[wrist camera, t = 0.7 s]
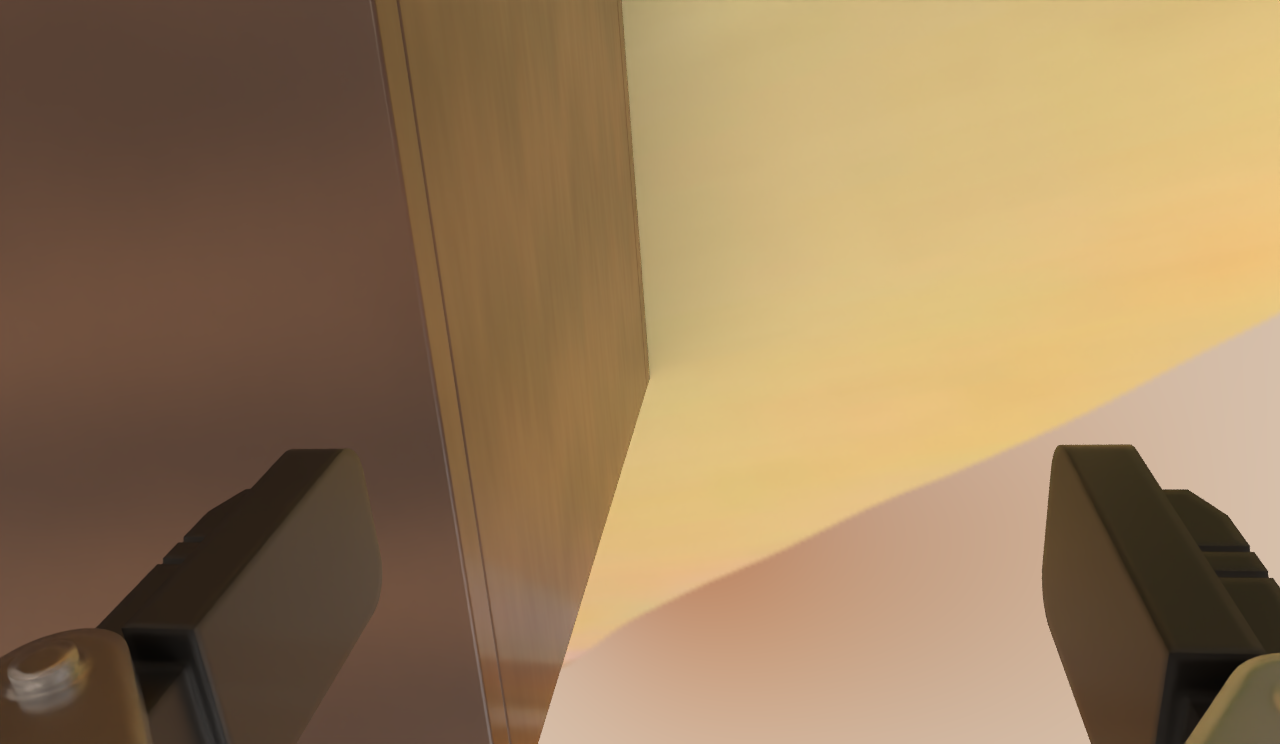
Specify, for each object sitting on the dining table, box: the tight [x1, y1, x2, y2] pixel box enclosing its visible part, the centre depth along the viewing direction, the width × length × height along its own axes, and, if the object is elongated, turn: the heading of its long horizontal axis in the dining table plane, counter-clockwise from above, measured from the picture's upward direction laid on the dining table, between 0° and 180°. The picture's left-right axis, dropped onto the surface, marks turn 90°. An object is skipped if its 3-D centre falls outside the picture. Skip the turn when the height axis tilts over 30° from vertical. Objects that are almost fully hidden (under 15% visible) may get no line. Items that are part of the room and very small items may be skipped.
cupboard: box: [0, 0, 650, 744], centre depth 31 cm, size 18×26×24 cm
